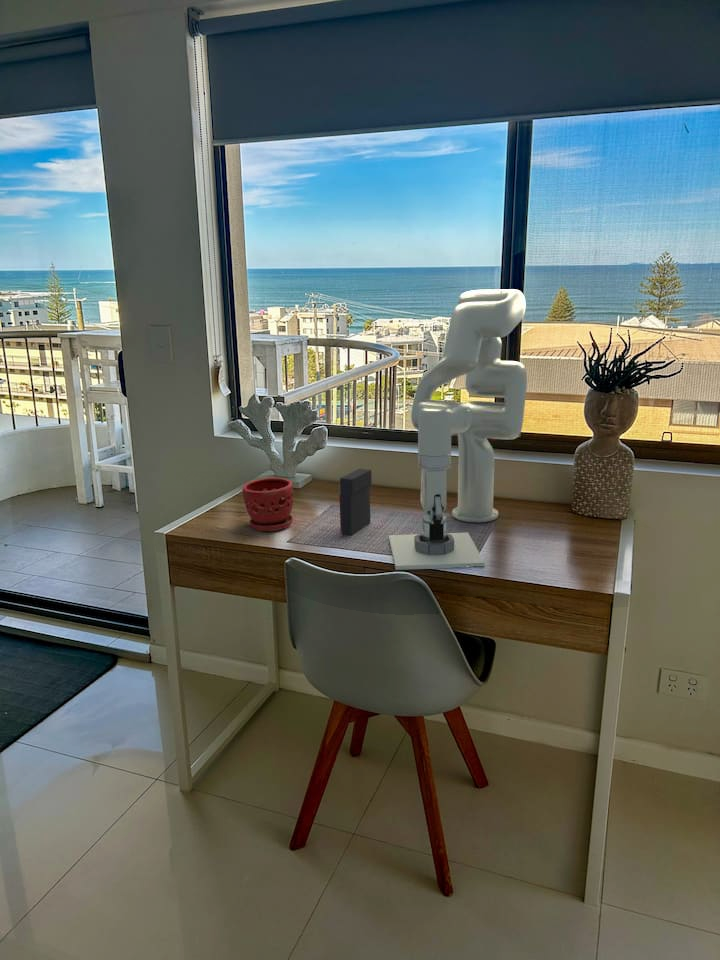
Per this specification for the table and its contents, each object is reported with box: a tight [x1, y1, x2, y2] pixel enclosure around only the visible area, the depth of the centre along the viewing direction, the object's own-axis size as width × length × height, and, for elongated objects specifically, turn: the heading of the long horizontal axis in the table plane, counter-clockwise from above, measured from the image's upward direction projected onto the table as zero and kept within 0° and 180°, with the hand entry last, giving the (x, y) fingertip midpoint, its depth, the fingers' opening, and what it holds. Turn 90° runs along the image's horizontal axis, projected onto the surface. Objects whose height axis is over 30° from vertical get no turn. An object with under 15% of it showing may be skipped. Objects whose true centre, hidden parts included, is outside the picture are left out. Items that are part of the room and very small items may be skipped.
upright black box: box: [338, 468, 373, 536], centre depth 178 cm, size 11×4×15 cm, turn 152°
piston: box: [422, 512, 447, 544], centre depth 161 cm, size 6×6×8 cm
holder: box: [388, 532, 486, 571], centre depth 162 cm, size 20×20×4 cm
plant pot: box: [242, 477, 294, 532], centre depth 182 cm, size 13×13×12 cm
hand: (434, 533), depth 161 cm, fingers open, 6 cm apart
